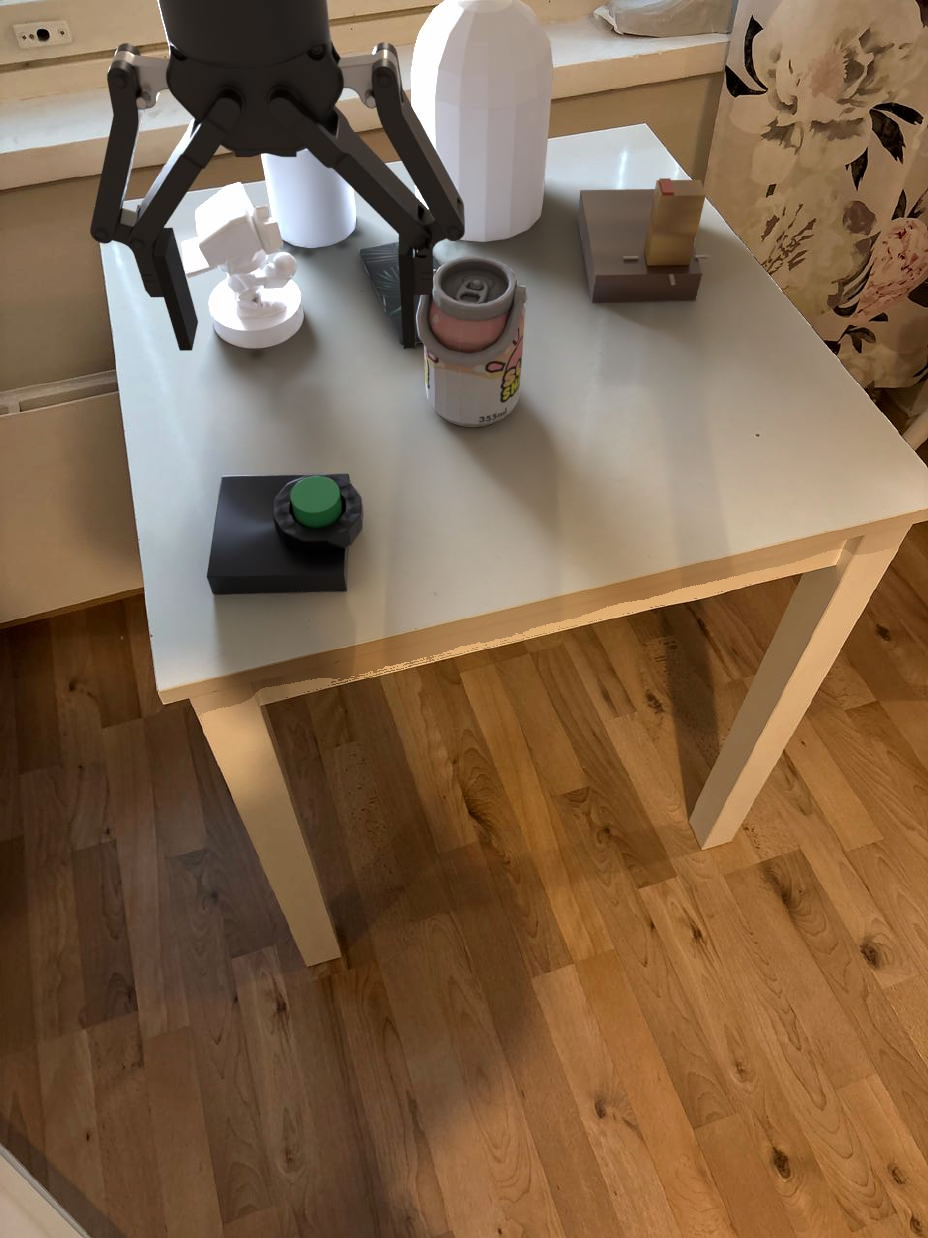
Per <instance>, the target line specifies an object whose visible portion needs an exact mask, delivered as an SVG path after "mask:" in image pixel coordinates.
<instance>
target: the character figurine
mask: <svg viewBox="0 0 928 1238" xmlns="http://www.w3.org/2000/svg"><path fill="white" fill-rule="evenodd" d="M194 219H195V220H194V221H195V227H196V237H193V238H189V239H187V240H184V241H183V240H182V242H181V252H182V264H183V268H184V271H185V275H186V279H191V278H194V277H196V276H199V275H202V274H205V273H208V272H210V271H212V270H216V269H219V270H220V271H222V272H223V273H226V279H224V280H222V281H221V282H219V283H218V284H217V286H216V287H215V288H213V290H212V292H211V294H210V296H209V299H208V308H209V312H210V316H211V320H212V324H213V329H214V330H215V333H216V334H217V335H218V336H219V337H220V338H221V339H222V340H223V341H225V342H226V343H228V344H230V345H233V346H234V347H235V346H236V347H239V348H244V349H264V348H269V347H274V346H277V345H280V344H282V343H284V342H285V341H287V340H289V339H290V338H291V337H293V336H294V335H295V334H296V333H297V332H298V331H299V330H300V328H301V326H302V325H303V322H304V319H305V316H304V306H303V299H302V295H301V291H300V289H299V286H298V285H297V284H296V282H294V280H292V278H293V277H294V275H295V274H296V271H297V268H298V267H297V261H296V259H295V258H294V256H293V255H292V254H290V253H289V252H284V251H283V252H280V251H279V249H283V248H284V244H283V240H282V238H281V234H280V229H279V226H278V222H277V221H276V220H274V219H273V218H272V217H270V211H269V205H268V204H265V205H261V206H253V204H252V202H251V199H250V198H249V196H248V194H247V192H246V190H245V188H244V185H243V184H242V183H241V182H236V183H233V184H228V185H226V186H224V187H223V188H222V189H221V190H219V191H218V192H217V193H216V194H214V195H213V196H211V197H210V198H208V200H206V201H205V202H204V203H203V204H201V205H200V206H199V207H197V208H196V210H195V211H194ZM276 253H277V254H276ZM273 254H276V255H275V256H274V258H273V261H272V262H273V263H271V262H269V263H268V262H267V260H268V258H269V255H273ZM265 263H266V264H265ZM264 264H265V266H264ZM262 266H264V267H263V269H262V270H261V269H260V268H261V267H262Z"/></svg>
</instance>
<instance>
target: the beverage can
mask: <svg viewBox="0 0 928 1238" xmlns="http://www.w3.org/2000/svg"><path fill="white" fill-rule="evenodd" d="M527 301H528V294H527V285H523V284H518V279H517V276H516V273H515V272H514V271H513V270H512V269H511V268H510V267H509V266H508V265H506V264H505V263H503V262H501V261H500V260H497V259H494V258H490V257H487V256H477V255H476V256H475V255H471V256H463V257H462V256H461V257H458V258H455V259H453V260H452V259H451V260H449V261H447V262H446V263H444V264H443V265H441V266H439V268H438V270H434V269H433V290H432V292H431V294H430V295H421V298H420V302H419V306H418V311H417V315H416V323H417V330H418V337H419V338H420V340H421V341H422V342H421V343H422V344H423V354H424V380H425V381H424V382H425V383H424V384H425V395H426V398H427V402H428V404H429V405H430V407H431V408H432V410H433V411H434V412H435V414H437V415H438V416H440V417H441V418H442V419H444V420H445V421H447V422H449V423H451V424H454V425H457V426H460V427H464V428H465V427H466V428H480V427H487V426H489V425H493V424H495V423H497V422H499V421H502V420H503V419H504V418H505V417H507V416H508V415H509V414H511V413H512V411H514V409H515V407H516V406H517V403H518V402H519V399H520V393H521V392H520V391H521V381H522V380H521V379H522V378H521V377H522V363H523V352H524V351H523V348H524V334H525V322H526V321H525V320H526V319H525V318H526V307H525V303H526V302H527Z"/></svg>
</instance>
